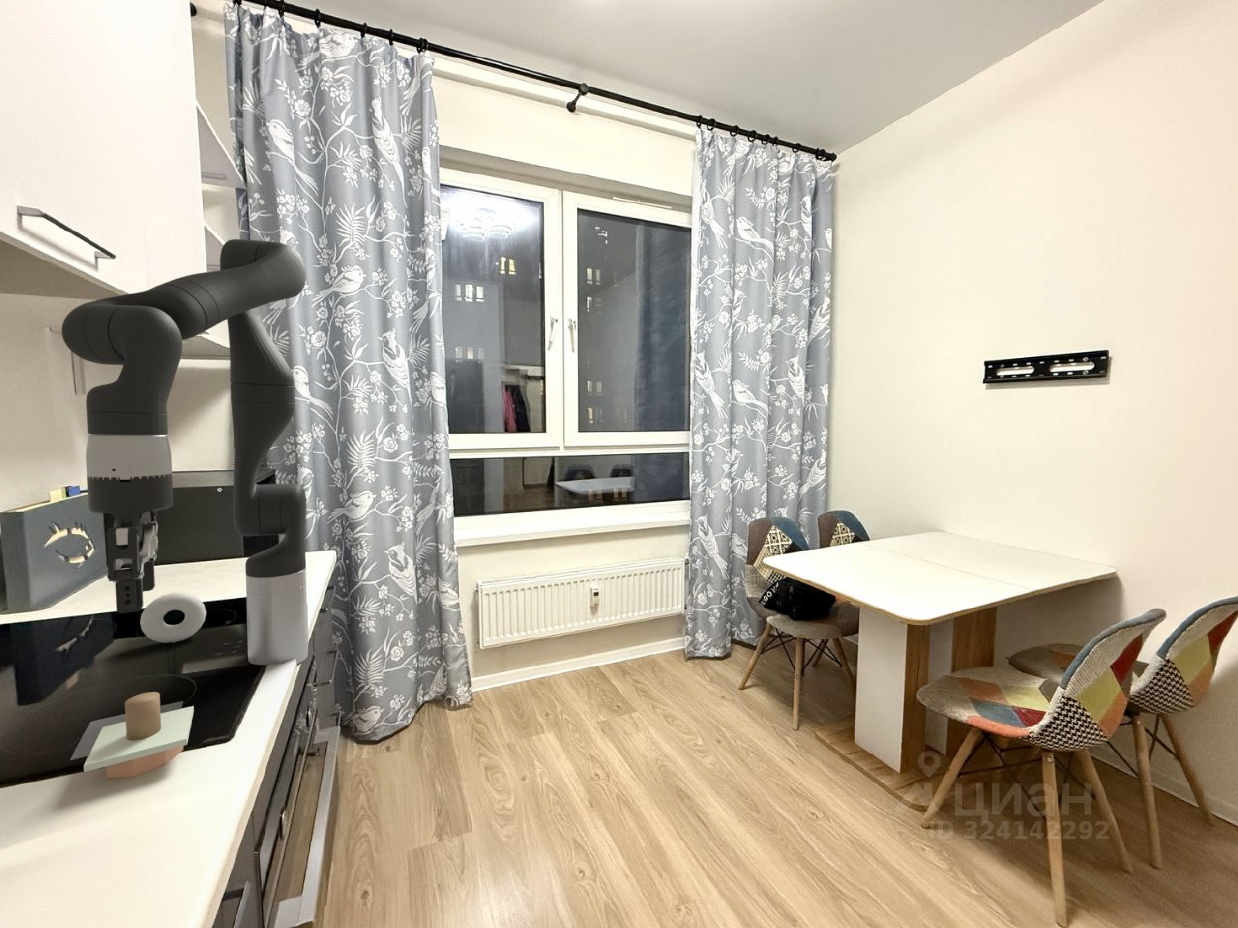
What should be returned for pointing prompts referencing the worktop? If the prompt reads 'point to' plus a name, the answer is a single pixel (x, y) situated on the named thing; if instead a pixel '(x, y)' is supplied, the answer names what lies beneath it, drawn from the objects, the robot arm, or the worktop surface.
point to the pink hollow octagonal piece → (142, 764)
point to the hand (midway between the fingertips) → (137, 600)
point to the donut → (173, 633)
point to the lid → (140, 732)
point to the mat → (96, 726)
